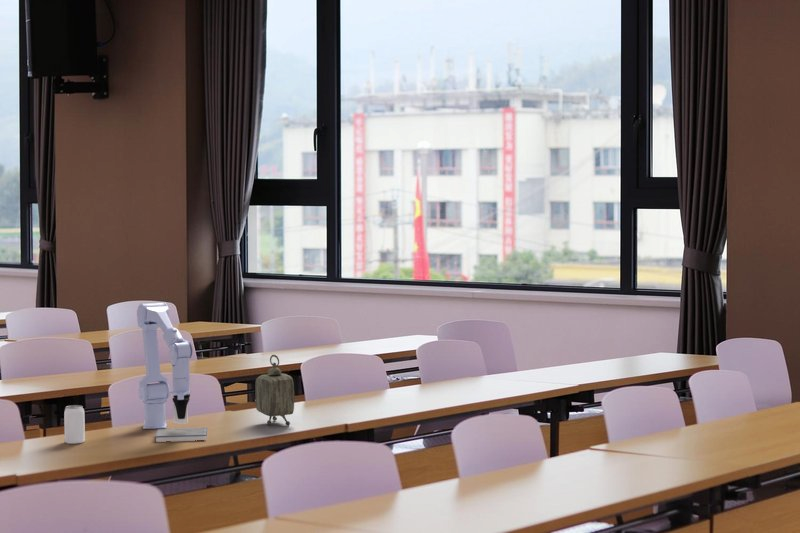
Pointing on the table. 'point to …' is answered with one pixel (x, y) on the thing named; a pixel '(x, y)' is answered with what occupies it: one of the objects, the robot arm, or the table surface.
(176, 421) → the block
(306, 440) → the table surface
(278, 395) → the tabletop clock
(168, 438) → the notebook
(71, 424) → the can
